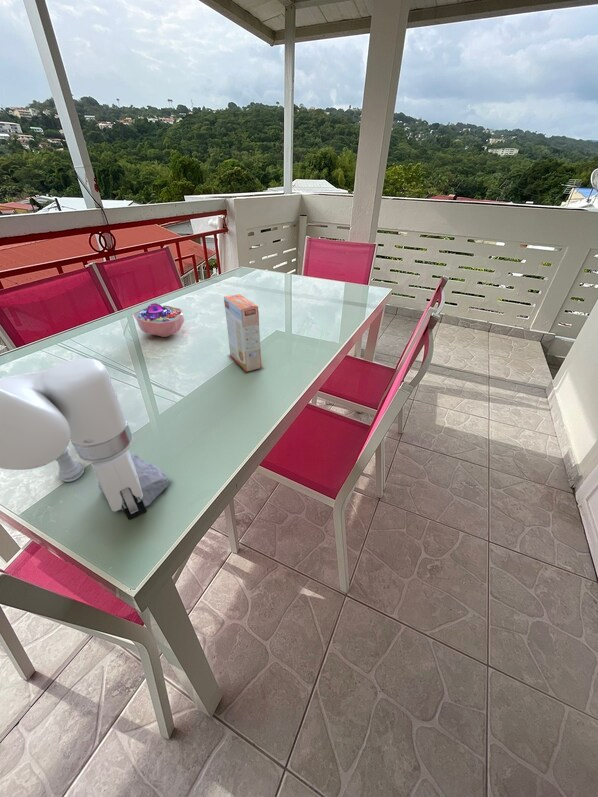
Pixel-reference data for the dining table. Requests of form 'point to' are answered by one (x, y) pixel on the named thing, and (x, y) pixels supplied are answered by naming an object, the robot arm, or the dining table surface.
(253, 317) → the cracker box
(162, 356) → the dining table surface
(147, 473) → the stone block
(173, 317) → the cell model
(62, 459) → the rook chess piece
